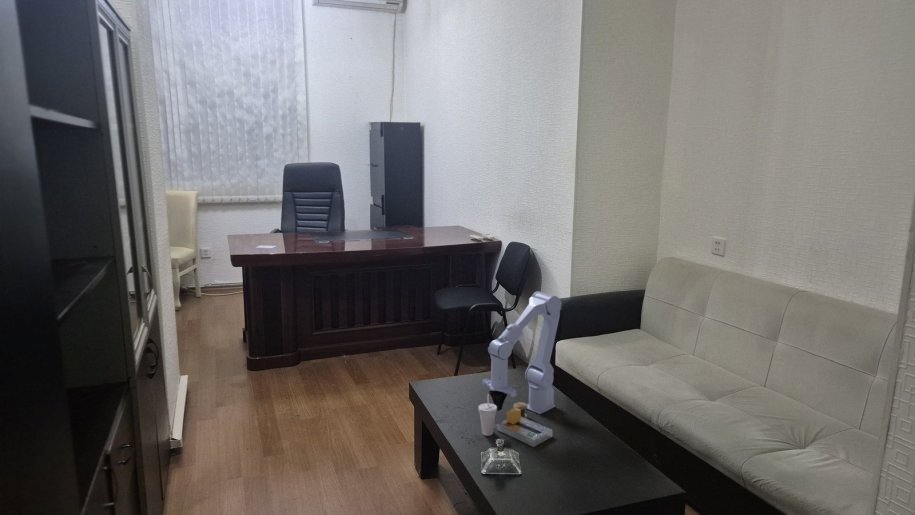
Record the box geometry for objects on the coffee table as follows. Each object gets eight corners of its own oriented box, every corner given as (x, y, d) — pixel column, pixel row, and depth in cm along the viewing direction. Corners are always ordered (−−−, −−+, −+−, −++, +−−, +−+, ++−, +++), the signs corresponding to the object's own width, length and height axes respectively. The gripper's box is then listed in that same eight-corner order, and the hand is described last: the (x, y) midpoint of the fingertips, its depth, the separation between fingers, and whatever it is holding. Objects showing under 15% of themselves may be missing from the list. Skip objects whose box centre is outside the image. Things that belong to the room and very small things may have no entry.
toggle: (514, 417, 209) (514, 406, 209) (520, 420, 207) (520, 409, 206) (506, 421, 207) (506, 410, 206) (513, 424, 205) (513, 413, 204)
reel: (519, 412, 220) (519, 401, 219) (530, 417, 216) (530, 405, 215) (510, 417, 216) (510, 405, 215) (521, 421, 213) (521, 409, 212)
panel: (516, 420, 213) (516, 414, 213) (552, 436, 202) (552, 429, 201) (497, 430, 206) (497, 423, 206) (533, 447, 195) (534, 439, 194)
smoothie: (498, 430, 206) (499, 392, 203) (493, 438, 200) (494, 400, 197) (481, 427, 208) (481, 390, 205) (475, 436, 202) (475, 397, 199)
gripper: (476, 370, 211) (476, 406, 214) (507, 382, 201) (506, 419, 204) (489, 365, 216) (489, 400, 219) (520, 377, 206) (519, 413, 208)
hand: (498, 409), depth 211 cm, fingers closed
